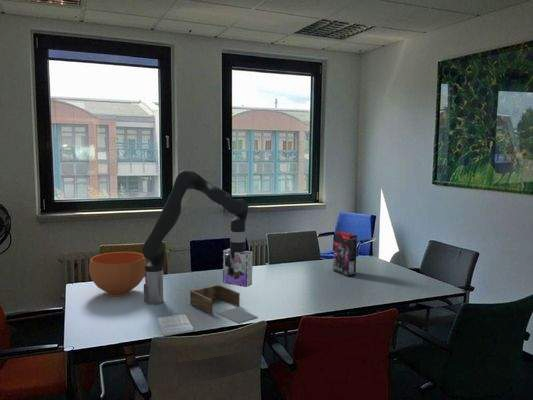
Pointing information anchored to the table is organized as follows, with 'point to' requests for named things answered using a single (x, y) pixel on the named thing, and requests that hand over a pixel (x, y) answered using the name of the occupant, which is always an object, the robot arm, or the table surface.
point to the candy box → (239, 268)
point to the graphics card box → (345, 253)
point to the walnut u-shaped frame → (213, 297)
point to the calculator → (175, 324)
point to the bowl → (117, 272)
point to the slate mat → (237, 315)
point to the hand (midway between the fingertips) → (237, 273)
